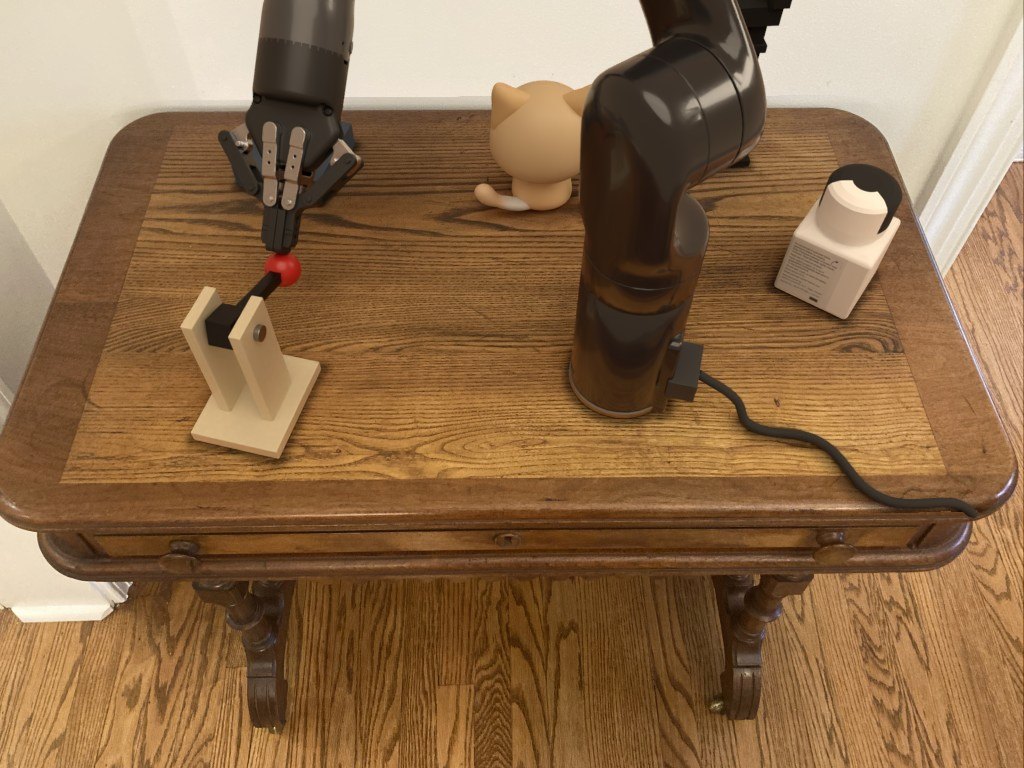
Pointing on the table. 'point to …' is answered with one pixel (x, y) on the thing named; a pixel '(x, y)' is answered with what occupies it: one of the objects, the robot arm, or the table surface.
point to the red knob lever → (277, 274)
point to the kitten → (535, 143)
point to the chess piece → (760, 30)
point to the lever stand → (247, 380)
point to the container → (842, 239)
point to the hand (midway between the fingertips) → (278, 251)
